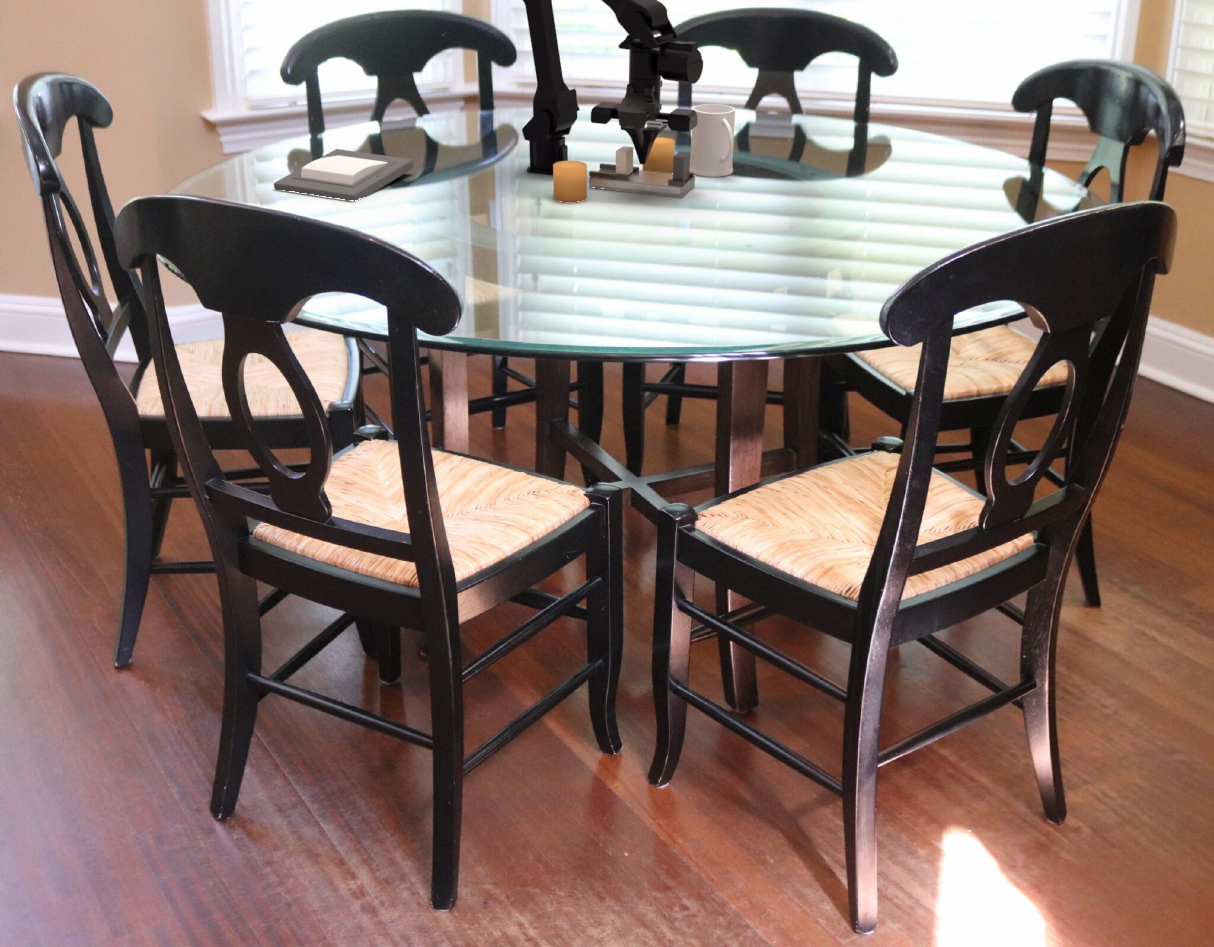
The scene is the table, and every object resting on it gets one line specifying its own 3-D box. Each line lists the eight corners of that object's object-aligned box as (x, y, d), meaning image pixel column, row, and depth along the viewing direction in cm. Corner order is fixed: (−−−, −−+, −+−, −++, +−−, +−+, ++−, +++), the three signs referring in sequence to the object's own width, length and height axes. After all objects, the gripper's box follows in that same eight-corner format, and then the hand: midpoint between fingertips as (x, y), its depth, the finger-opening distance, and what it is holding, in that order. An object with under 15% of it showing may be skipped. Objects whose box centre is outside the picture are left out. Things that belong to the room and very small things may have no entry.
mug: (747, 179, 236) (751, 115, 230) (705, 183, 234) (708, 119, 228) (722, 164, 246) (725, 102, 240) (682, 167, 243) (684, 105, 238)
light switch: (270, 173, 227) (335, 139, 242) (275, 199, 230) (338, 163, 245) (351, 186, 220) (412, 150, 235) (355, 211, 223) (415, 174, 238)
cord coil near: (548, 200, 224) (548, 167, 221) (561, 192, 229) (560, 159, 226) (579, 204, 222) (579, 171, 219) (591, 195, 227) (591, 162, 224)
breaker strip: (587, 188, 231) (587, 173, 229) (602, 176, 237) (602, 162, 236) (681, 198, 225) (682, 183, 224) (694, 186, 232) (695, 171, 231)
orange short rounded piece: (638, 174, 239) (639, 143, 236) (648, 167, 244) (649, 136, 241) (668, 178, 237) (669, 146, 234) (677, 170, 242) (678, 139, 239)
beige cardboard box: (615, 175, 230) (615, 151, 228) (622, 170, 233) (623, 145, 231) (625, 176, 229) (626, 152, 227) (632, 171, 233) (633, 146, 230)
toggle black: (672, 181, 227) (673, 156, 224) (679, 175, 230) (679, 151, 228) (683, 182, 226) (683, 157, 224) (689, 176, 229) (690, 152, 227)
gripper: (579, 81, 218) (579, 169, 225) (681, 90, 212) (678, 180, 220) (601, 69, 227) (601, 154, 234) (700, 77, 221) (696, 164, 229)
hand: (642, 163), depth 229 cm, fingers closed
